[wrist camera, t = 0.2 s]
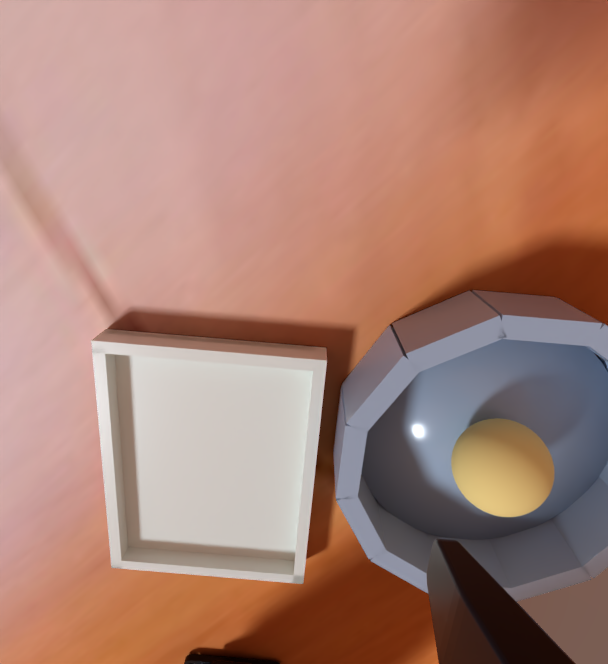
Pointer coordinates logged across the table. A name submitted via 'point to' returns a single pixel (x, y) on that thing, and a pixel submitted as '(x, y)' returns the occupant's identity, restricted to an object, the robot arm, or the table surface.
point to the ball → (502, 467)
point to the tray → (208, 452)
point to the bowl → (460, 413)
